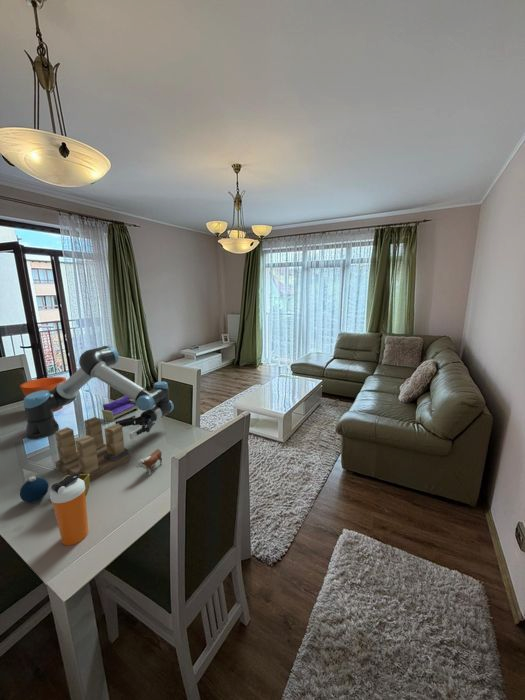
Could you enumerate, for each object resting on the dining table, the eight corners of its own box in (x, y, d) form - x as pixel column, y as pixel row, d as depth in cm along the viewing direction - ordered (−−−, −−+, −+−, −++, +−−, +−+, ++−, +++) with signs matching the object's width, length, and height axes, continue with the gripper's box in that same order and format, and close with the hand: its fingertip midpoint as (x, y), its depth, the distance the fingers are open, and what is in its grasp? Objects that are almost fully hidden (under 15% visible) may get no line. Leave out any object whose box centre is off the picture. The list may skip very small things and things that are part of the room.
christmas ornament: (46, 489, 112) (42, 466, 110) (53, 498, 106) (48, 474, 104) (19, 501, 105) (14, 477, 103) (24, 511, 100) (19, 486, 98)
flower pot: (69, 495, 108) (66, 474, 106) (93, 494, 108) (90, 473, 107) (54, 512, 99) (50, 490, 97) (80, 511, 100) (77, 488, 98)
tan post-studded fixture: (56, 468, 125) (49, 432, 122) (99, 447, 143) (95, 415, 139) (86, 484, 114) (80, 445, 111) (130, 459, 131) (126, 425, 128)
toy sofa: (112, 422, 172) (110, 406, 170) (102, 420, 175) (100, 404, 173) (139, 409, 191) (137, 395, 189) (129, 407, 194) (128, 393, 192)
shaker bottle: (98, 528, 92) (90, 474, 88) (72, 552, 84) (62, 493, 80) (78, 522, 95) (69, 469, 91) (51, 543, 86) (40, 486, 83)
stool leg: (108, 457, 128) (104, 428, 125) (116, 451, 132) (113, 424, 130) (116, 459, 126) (112, 430, 123) (125, 453, 131) (121, 425, 128)
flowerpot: (52, 416, 181) (47, 387, 177) (14, 417, 181) (9, 388, 177) (78, 402, 205) (74, 376, 202) (44, 402, 206) (40, 377, 202)
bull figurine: (135, 478, 117) (133, 461, 116) (158, 461, 129) (156, 445, 128) (143, 481, 116) (141, 463, 114) (165, 463, 128) (164, 447, 126)
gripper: (170, 425, 146) (141, 445, 126) (133, 419, 154) (99, 437, 135) (169, 412, 145) (139, 430, 125) (131, 406, 153) (97, 422, 133)
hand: (119, 434), depth 130 cm, fingers open, 13 cm apart
